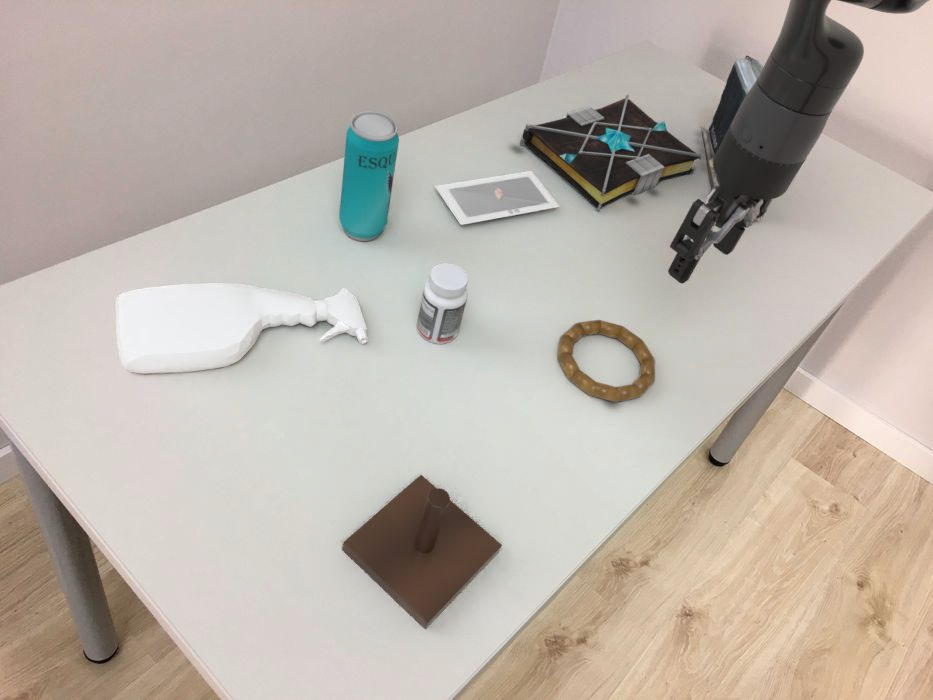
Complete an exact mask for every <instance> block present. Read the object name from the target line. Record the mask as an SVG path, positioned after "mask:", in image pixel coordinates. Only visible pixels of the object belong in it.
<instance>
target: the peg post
mask: <svg viewBox="0 0 933 700" xmlns="http://www.w3.org/2000/svg"><path fill="white" fill-rule="evenodd" d="M502 546H503V545H502V544H501V543H500V541H498V540H497V539H496V538H494V536H493V535H491V534H490V533H489V532H488V531H486V530H485V529H484V528H483V527H482V526H481V525H480V524H478V523H477V522H476V521H475V520H474V519H473V518H472V517H471V516H469V515H468V514H467V513H466V512H465V511H464V510H463V509H462V508H460V507H459V506H458V505H457V504H455V503H454V502H453V501H452V500H451V496H450V494H449V493H448V491H446V490H445V489H443V488H439V487H436V486H435V485H434V484H433V483H431V482H430V481H429V480H428V479H427V478H425V476H423V475H422V474H419V475H418V476H417V477H416V478H415V479H414V480H413V481H411V482H410V483H409V484H408V485H407V486H406V487H405V488H404V489H402V490H401V491H400V492H399V493H398V494H397V495H396V496H394V497H393V498H392V499H391V500H390V501H389V502H387V503H386V504H385V505H384V506H383V507H381V509H380V510H378V511H377V512H376V513H375V514H374V515H373V516H371V517H370V518H369V519H368V520H367V521H365V523H364V524H362V526H360V527H359V528H358V529H357V530H356V531H354V532H353V533H352V534H351V535H350V536H348V537H347V538H346V539H345V540H344V541H343V542H342V549H341V550H342V551H343V553H345V555H346V556H348V557H349V558H350V559H351V560H352V561H353V562H354V563H355V564H356V565H357V566H358V567H359V568H360V569H361V570H362V571H364V573H365V574H366V575H367V576H368V577H370V579H372V581H373V582H375V583H376V584H377V585H378V586H379V587H380V589H382V590H383V591H384V592H385V593H387V595H388V596H389V597H391V598H392V599H393V600H394V601H395V602H396V603H397V604H398V605H399V606H400V607H401V608H402V609H403V610H404V611H405V612H406V613H408V615H409V616H411V618H412V619H414V621H416V622H417V623H418V625H420V626H421V627H422V628H423V629H424V630H427V628H429V626H430V625H431V624H432V623H433V622H434V621H435V620H436V619H437V618H438V617H439V616H440V615H441V614H442V613H443V612H444V611H445V609H446V608H448V606H450V604H452V602H453V601H454V600H455V599H456V598H457V597H458V596H459V595H460V594H461V593H462V592H463V590H465V589H466V588H467V587H468V585H470V583H471V582H473V580H474V579H475V578H476V577H477V576H478V575H479V574H480V573H481V572H482V571H483V570H484V569H485V567H487V566H488V564H489V563H491V561H492V560H494V558H495V557H496V556H497V555H498V554H499V553H500V550H501V549H502Z"/></svg>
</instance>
